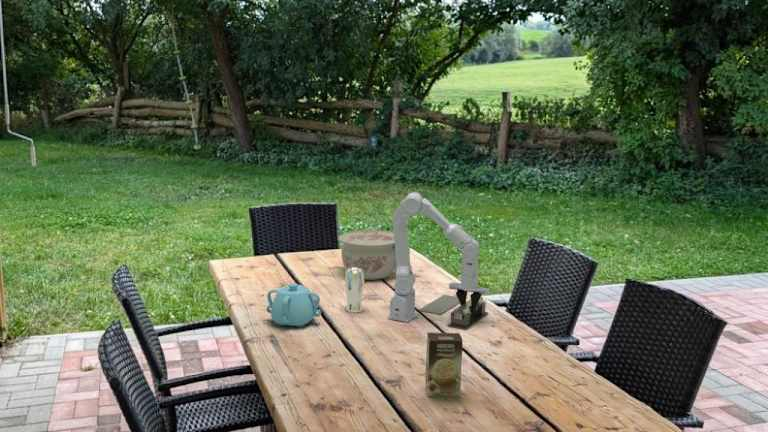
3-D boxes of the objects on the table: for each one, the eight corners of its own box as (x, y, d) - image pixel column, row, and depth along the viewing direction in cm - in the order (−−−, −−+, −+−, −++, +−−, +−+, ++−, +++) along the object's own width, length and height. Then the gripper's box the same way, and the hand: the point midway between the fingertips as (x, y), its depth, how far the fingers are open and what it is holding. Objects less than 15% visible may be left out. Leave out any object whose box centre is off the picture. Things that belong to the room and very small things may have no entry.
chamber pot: (328, 271, 327) (328, 224, 323) (385, 265, 338) (386, 219, 334) (353, 288, 302) (353, 237, 298) (414, 281, 313) (415, 232, 309)
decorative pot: (324, 326, 258) (324, 287, 256) (279, 332, 251) (278, 293, 249) (307, 312, 273) (307, 275, 270) (264, 318, 266) (263, 280, 263)
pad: (441, 315, 271) (441, 314, 271) (418, 310, 275) (418, 309, 275) (465, 299, 290) (465, 298, 289) (444, 295, 294) (444, 294, 294)
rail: (462, 319, 257) (462, 311, 256) (453, 318, 258) (453, 309, 258) (482, 305, 272) (482, 297, 271) (474, 304, 273) (474, 296, 273)
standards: (465, 330, 255) (466, 317, 255) (447, 326, 259) (447, 313, 258) (488, 313, 272) (488, 301, 272) (470, 310, 276) (470, 298, 275)
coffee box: (426, 397, 203) (428, 340, 200) (424, 387, 210) (426, 332, 206) (461, 397, 204) (462, 340, 200) (458, 387, 210) (459, 332, 207)
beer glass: (365, 307, 279) (365, 267, 276) (362, 313, 272) (362, 272, 269) (346, 306, 279) (346, 267, 276) (343, 312, 272) (343, 272, 270)
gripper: (493, 274, 262) (492, 311, 265) (455, 268, 269) (454, 305, 272) (485, 279, 256) (484, 317, 259) (446, 273, 263) (445, 310, 266)
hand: (468, 311), depth 265 cm, fingers closed on rail, 3 cm apart
